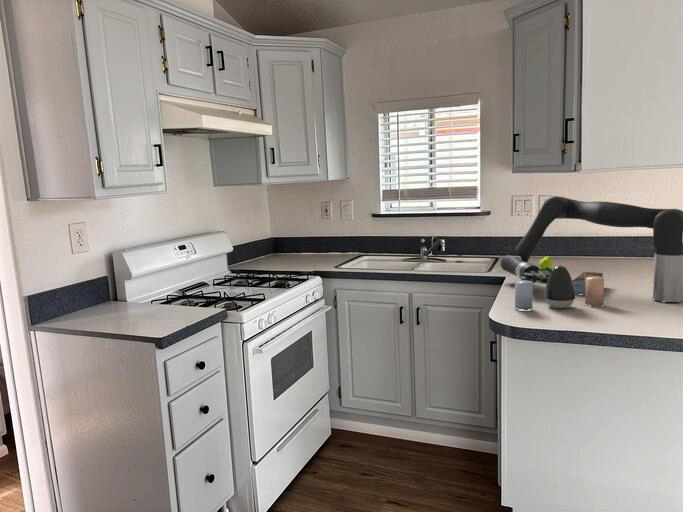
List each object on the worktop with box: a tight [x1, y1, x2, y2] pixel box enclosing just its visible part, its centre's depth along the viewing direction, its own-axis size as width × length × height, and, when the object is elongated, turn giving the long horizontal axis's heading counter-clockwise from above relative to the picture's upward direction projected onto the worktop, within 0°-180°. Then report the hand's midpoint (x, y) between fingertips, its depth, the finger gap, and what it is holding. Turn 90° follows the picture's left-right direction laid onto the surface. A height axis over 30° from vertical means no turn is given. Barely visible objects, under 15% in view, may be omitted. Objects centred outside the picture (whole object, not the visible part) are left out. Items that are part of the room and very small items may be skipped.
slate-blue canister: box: [514, 279, 534, 310], centre depth 187 cm, size 6×6×10 cm
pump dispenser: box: [544, 265, 576, 309], centre depth 187 cm, size 10×10×15 cm
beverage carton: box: [572, 271, 604, 296], centre depth 211 cm, size 8×19×7 cm, turn 142°
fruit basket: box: [538, 255, 554, 274], centre depth 234 cm, size 11×9×11 cm
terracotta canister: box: [584, 276, 605, 307], centre depth 188 cm, size 6×6×10 cm
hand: (546, 280), depth 197 cm, fingers closed
